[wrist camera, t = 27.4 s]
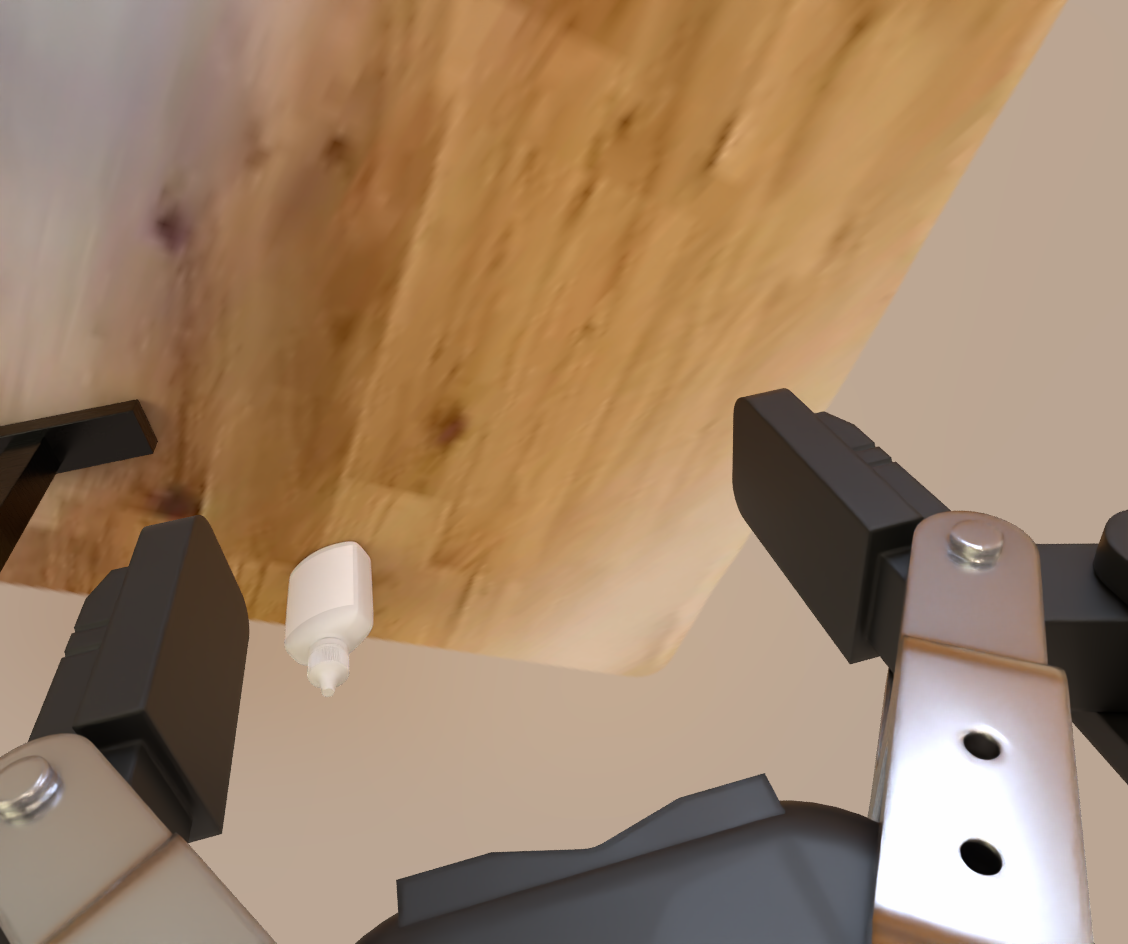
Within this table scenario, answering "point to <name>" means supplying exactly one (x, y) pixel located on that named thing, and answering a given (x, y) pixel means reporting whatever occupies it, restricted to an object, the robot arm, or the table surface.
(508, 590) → the table surface
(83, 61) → the table surface
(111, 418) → the rack
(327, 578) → the eye dropper bottle
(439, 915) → the robot arm
